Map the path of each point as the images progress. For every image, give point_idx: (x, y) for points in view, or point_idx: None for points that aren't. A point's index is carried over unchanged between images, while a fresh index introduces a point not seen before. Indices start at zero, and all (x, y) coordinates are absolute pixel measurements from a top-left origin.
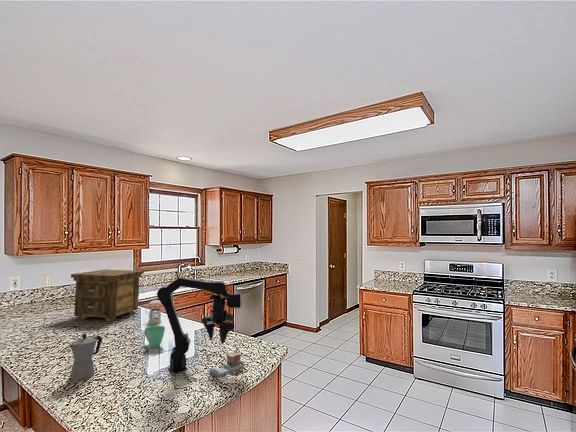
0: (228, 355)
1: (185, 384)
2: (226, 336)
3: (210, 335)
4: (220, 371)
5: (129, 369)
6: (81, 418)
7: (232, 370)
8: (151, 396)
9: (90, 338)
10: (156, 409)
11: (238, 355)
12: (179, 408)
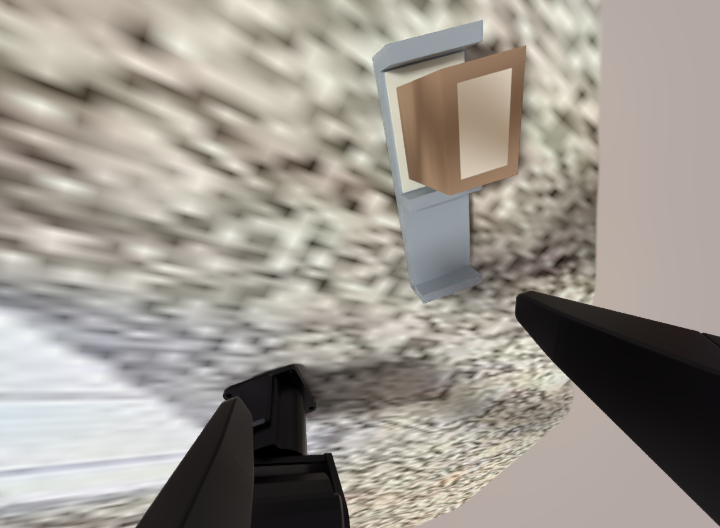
0: (466, 188)
1: (436, 374)
2: (704, 333)
3: (246, 489)
4: (448, 242)
5: None
6: (439, 508)
7: None
8: (442, 440)
9: None
10: (508, 425)
11: (518, 81)
12: (545, 388)
